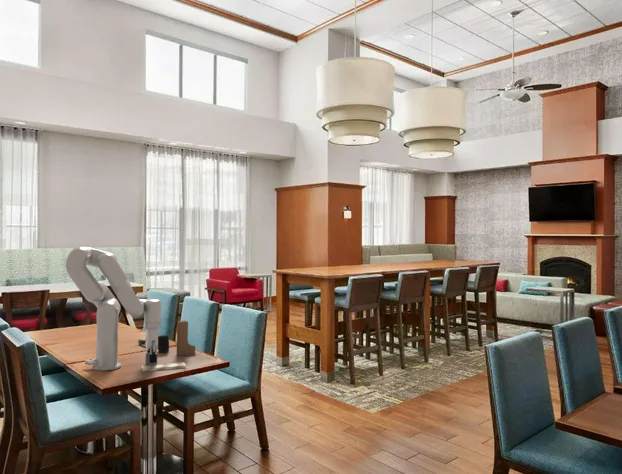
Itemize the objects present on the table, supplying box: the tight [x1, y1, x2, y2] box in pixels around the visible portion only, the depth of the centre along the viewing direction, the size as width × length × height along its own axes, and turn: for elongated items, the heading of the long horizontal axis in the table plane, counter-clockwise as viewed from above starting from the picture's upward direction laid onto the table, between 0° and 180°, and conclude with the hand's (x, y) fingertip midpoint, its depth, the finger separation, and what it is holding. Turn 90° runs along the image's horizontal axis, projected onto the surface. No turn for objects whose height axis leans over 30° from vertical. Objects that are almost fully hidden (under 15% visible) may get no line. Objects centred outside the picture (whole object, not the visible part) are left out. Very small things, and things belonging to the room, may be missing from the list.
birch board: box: [140, 362, 187, 372], centre depth 233 cm, size 20×6×1 cm, turn 115°
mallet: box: [137, 334, 170, 354], centre depth 272 cm, size 29×6×10 cm, turn 48°
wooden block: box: [176, 320, 196, 357], centre depth 262 cm, size 9×4×18 cm, turn 127°
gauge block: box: [144, 352, 158, 366], centre depth 237 cm, size 5×4×6 cm
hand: (151, 360), depth 237 cm, fingers open, 9 cm apart
